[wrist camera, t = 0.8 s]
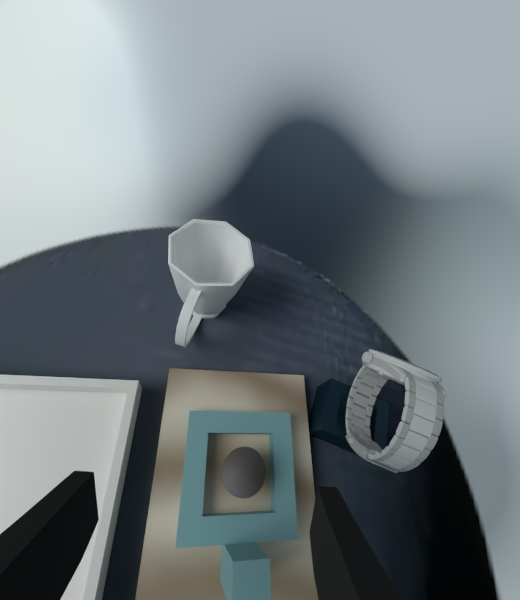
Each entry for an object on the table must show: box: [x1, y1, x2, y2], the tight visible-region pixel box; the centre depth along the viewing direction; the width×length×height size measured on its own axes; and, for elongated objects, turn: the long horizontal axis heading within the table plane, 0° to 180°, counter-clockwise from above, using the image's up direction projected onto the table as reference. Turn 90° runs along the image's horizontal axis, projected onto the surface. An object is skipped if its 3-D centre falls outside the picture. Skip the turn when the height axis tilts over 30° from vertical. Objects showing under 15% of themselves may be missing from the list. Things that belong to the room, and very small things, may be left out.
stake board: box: [135, 368, 318, 600], centre depth 20 cm, size 16×12×4 cm
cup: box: [168, 219, 254, 347], centre depth 25 cm, size 7×10×8 cm
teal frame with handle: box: [175, 411, 298, 600], centre depth 19 cm, size 10×8×5 cm
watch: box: [309, 349, 446, 473], centre depth 21 cm, size 6×8×11 cm
